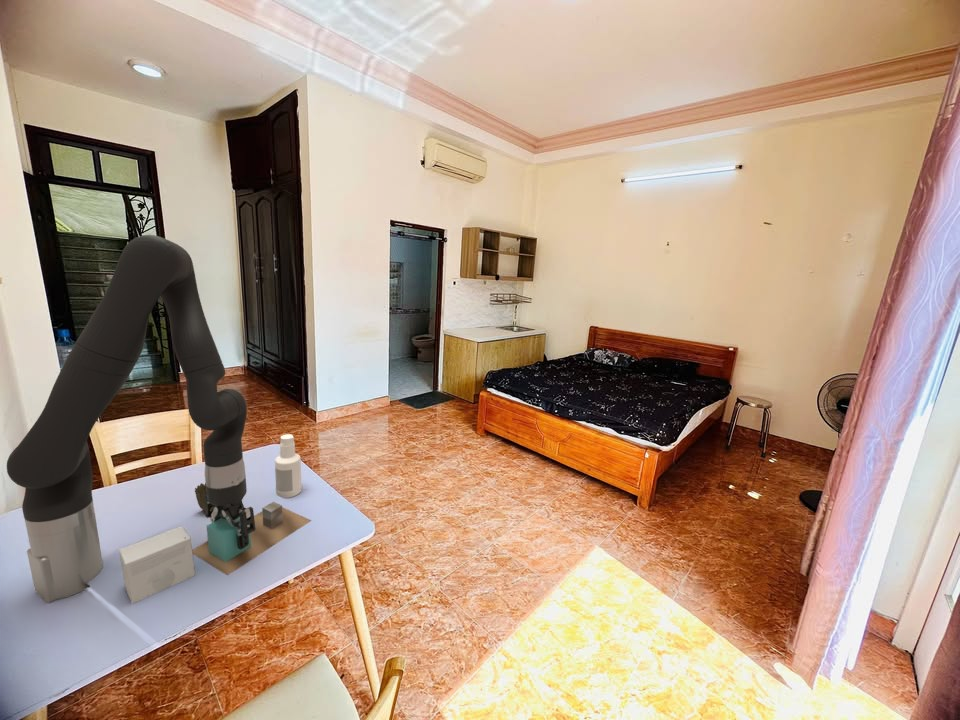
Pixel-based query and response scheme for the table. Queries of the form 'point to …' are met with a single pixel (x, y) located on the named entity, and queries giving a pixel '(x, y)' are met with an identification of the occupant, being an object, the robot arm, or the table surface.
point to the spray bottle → (288, 469)
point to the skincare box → (157, 563)
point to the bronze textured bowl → (201, 495)
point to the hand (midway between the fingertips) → (231, 540)
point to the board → (258, 537)
